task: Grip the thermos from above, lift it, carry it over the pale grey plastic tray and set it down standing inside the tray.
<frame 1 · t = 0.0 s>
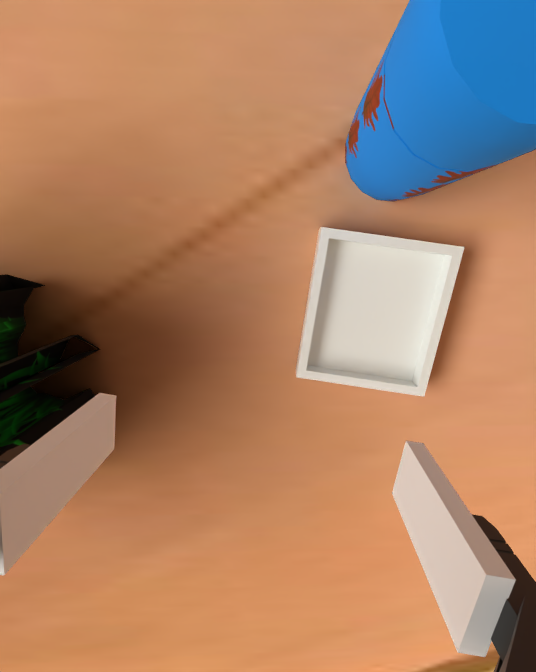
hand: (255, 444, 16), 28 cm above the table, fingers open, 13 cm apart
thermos: (393, 149, 38), on the table
decorative plant: (2, 380, 48), on the table
tray: (369, 311, 42), on the table
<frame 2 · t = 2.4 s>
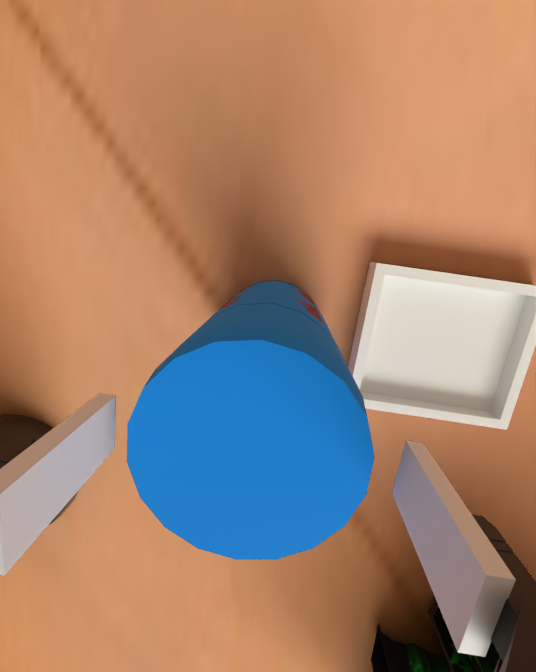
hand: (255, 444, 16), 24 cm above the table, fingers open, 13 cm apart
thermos: (272, 327, 39), on the table
decorative plant: (466, 671, 50), on the table
tray: (433, 342, 38), on the table
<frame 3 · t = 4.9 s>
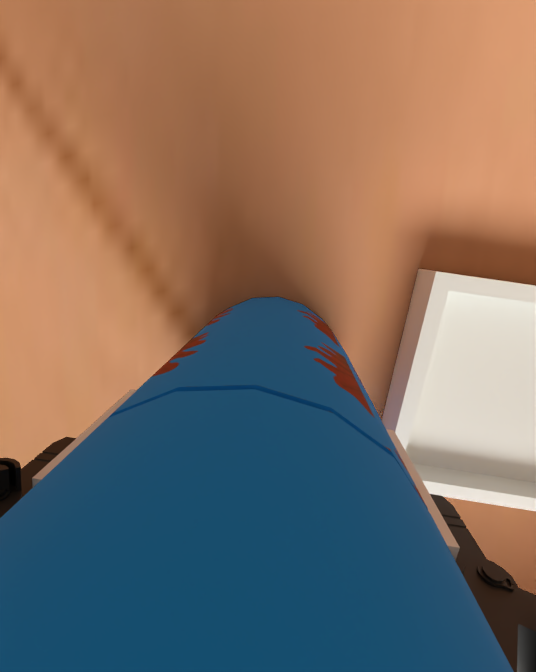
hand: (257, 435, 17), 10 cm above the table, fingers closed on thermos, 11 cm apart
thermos: (269, 365, 26), on the table, touching gripper
tray: (510, 389, 26), on the table
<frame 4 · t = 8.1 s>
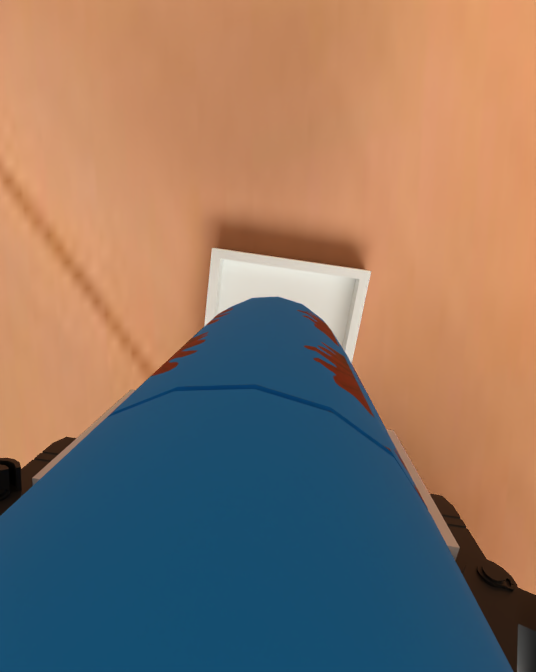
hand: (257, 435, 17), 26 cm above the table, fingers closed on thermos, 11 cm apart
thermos: (269, 365, 26), point 16 cm above the table, touching gripper
tray: (281, 322, 42), on the table
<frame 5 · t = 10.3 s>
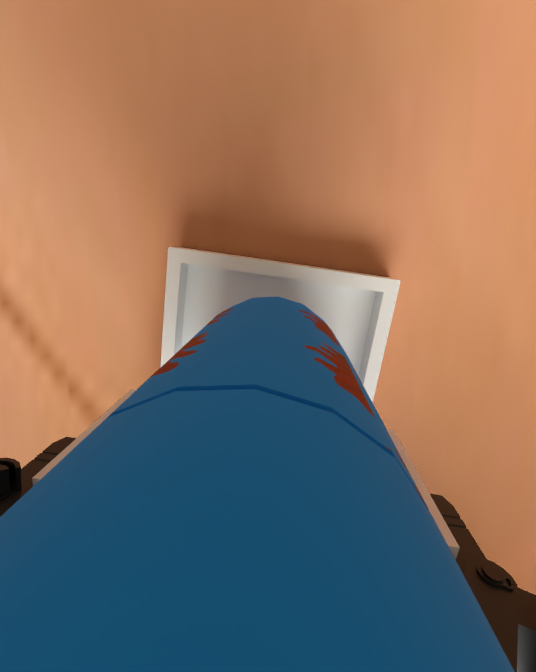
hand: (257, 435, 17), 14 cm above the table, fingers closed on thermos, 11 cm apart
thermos: (269, 365, 26), point 4 cm above the table, touching gripper
tray: (271, 350, 30), on the table
when the fingers open (12 cm above the table, at t = 11.8 s): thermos drops 1 cm, resting on tray.
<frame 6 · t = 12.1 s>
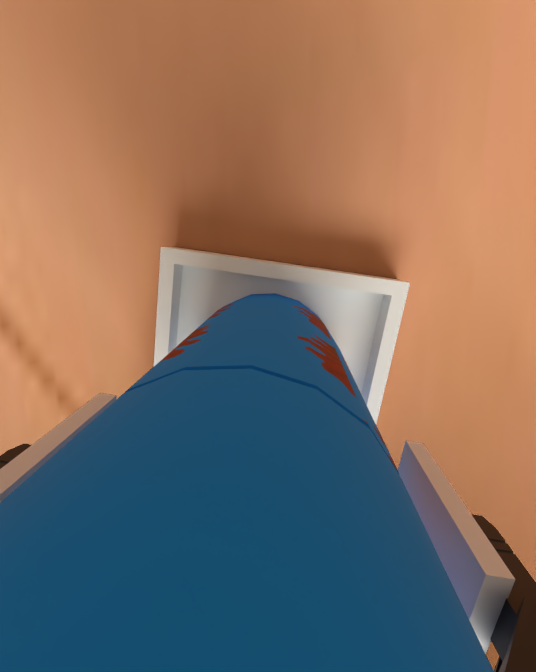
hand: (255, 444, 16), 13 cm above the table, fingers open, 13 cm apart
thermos: (266, 358, 28), point 1 cm above the table, touching tray
tray: (271, 356, 29), on the table
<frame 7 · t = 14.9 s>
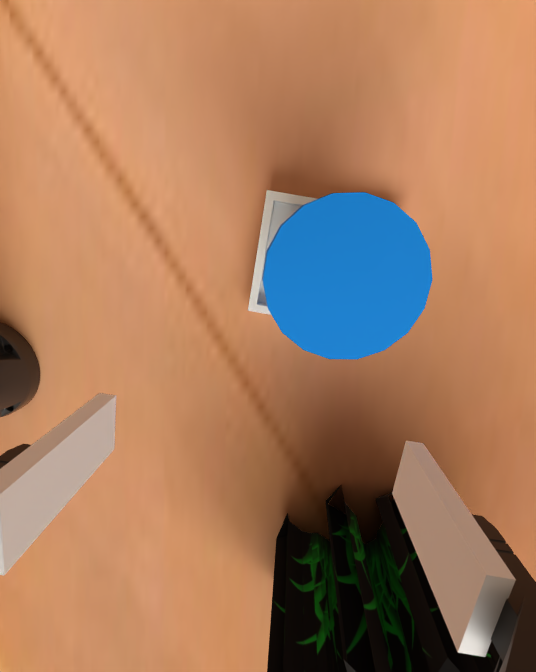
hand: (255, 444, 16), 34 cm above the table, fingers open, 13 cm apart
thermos: (320, 263, 47), point 1 cm above the table, touching tray
decorative plant: (363, 560, 59), on the table
tray: (321, 263, 47), on the table
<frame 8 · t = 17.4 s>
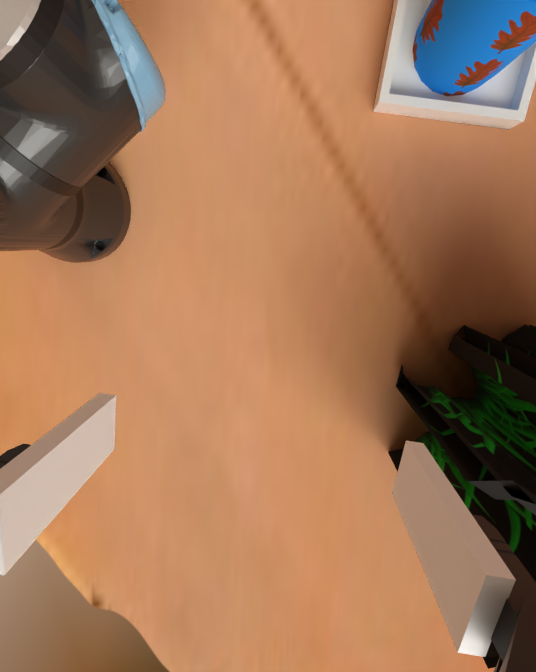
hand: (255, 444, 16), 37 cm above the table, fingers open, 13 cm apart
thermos: (457, 46, 42), point 1 cm above the table, touching tray
decorative plant: (482, 416, 54), on the table
tray: (456, 51, 43), on the table
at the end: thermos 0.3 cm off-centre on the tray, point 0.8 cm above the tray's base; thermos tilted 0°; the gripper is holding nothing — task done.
